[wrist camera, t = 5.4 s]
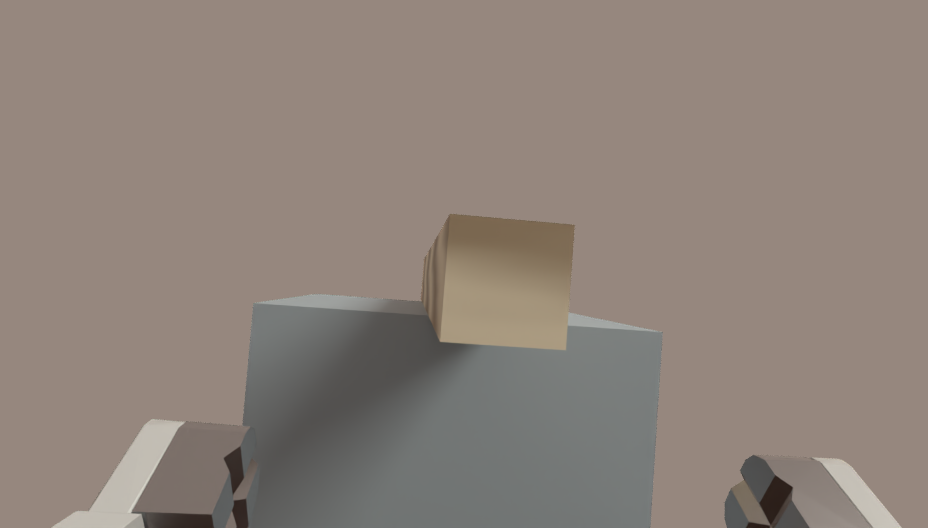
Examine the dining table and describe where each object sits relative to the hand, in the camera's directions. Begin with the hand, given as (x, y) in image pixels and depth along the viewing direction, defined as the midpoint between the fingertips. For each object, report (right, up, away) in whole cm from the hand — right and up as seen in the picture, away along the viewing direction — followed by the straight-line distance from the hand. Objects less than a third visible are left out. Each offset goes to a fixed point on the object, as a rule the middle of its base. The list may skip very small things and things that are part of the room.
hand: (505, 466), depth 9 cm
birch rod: (-1, +1, +14) cm, 14 cm away
